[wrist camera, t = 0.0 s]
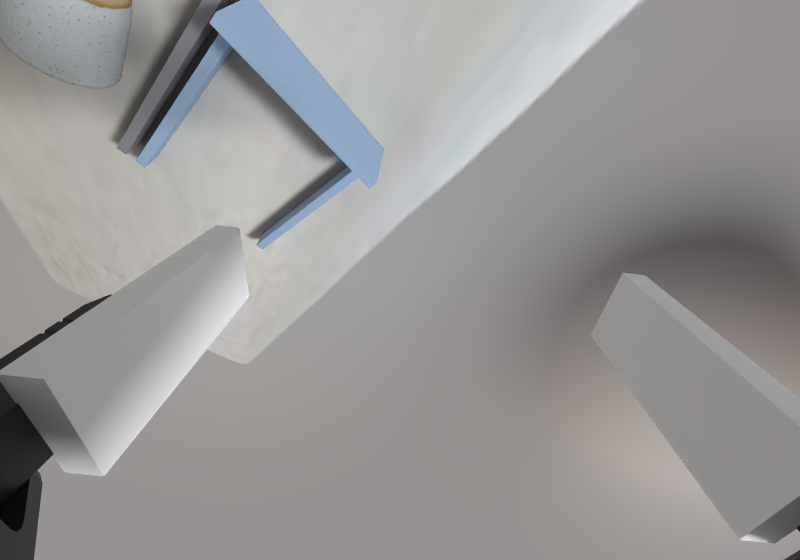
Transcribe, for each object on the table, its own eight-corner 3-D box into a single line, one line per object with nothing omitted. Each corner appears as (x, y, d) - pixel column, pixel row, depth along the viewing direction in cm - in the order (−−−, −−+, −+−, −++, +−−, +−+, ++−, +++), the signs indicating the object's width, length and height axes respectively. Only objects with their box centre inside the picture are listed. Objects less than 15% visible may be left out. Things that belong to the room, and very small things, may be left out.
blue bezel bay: (252, -6, 28) (215, 11, 23) (383, 149, 37) (376, 183, 32) (148, 150, 39) (110, 182, 35) (268, 237, 49) (250, 272, 44)
